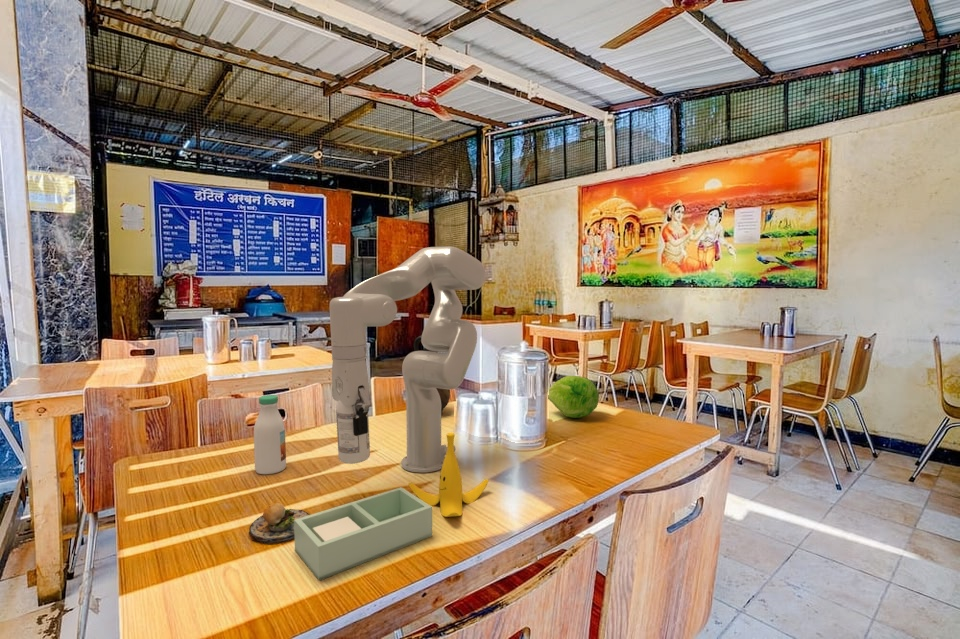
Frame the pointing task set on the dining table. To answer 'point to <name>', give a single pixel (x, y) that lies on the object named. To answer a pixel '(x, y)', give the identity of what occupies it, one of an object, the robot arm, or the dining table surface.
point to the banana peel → (450, 486)
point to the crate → (363, 531)
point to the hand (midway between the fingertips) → (353, 429)
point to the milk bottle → (269, 437)
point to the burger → (275, 524)
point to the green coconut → (574, 396)
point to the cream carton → (335, 529)
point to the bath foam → (350, 437)
